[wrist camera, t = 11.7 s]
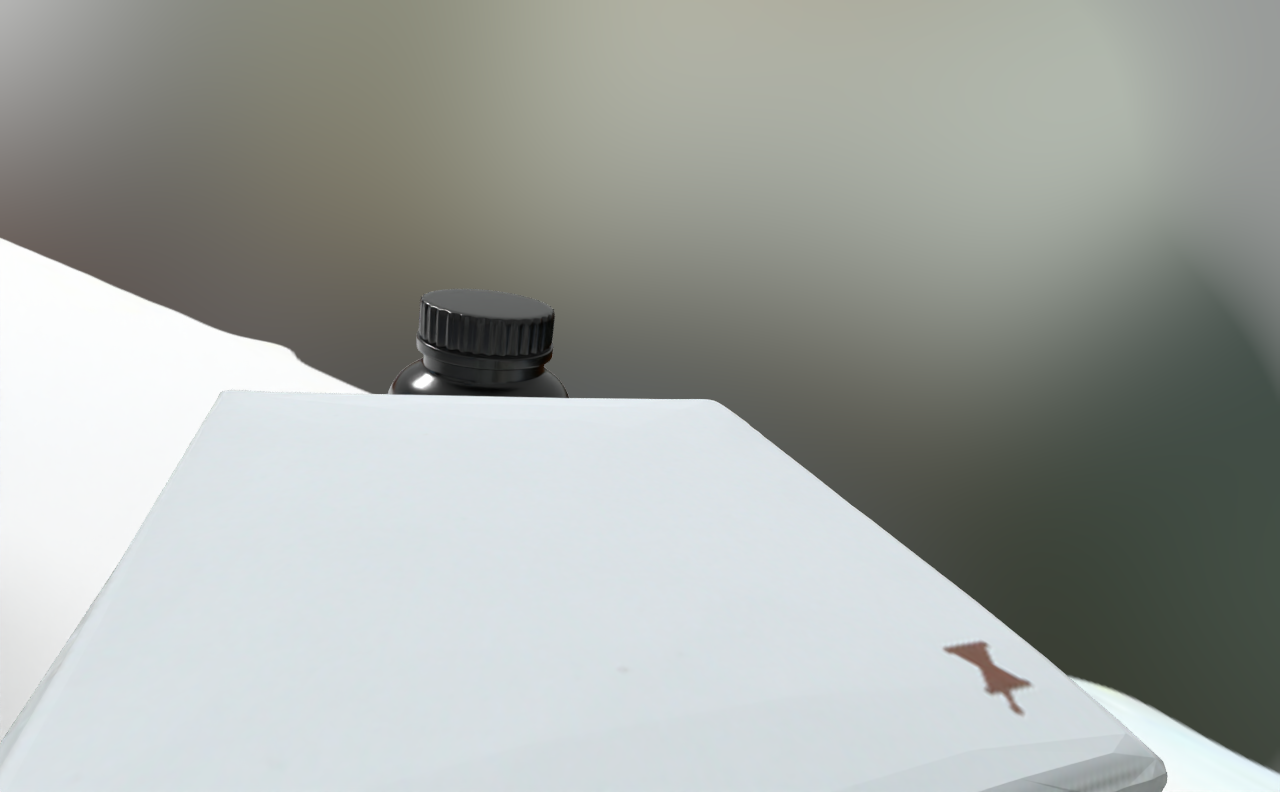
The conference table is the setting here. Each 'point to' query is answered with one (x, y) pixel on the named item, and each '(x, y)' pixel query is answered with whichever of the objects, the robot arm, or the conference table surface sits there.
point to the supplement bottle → (482, 347)
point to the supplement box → (537, 621)
